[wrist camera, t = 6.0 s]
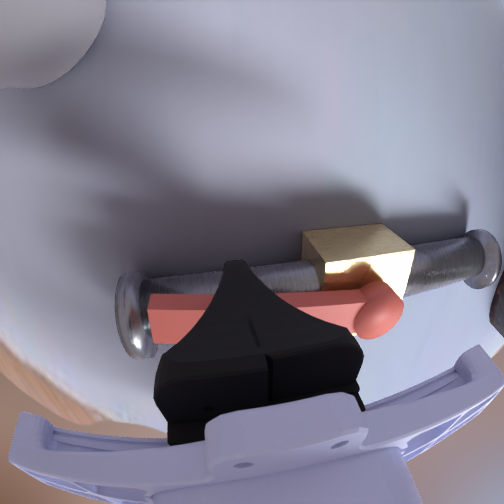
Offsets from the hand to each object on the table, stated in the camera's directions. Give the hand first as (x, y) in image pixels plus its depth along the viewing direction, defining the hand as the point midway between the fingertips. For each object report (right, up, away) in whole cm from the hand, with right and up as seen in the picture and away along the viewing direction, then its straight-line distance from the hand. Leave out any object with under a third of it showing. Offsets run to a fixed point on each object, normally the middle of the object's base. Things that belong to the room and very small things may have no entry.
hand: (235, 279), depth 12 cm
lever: (+2, -2, +2) cm, 4 cm away
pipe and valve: (+7, 0, +7) cm, 10 cm away
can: (-11, +14, -4) cm, 18 cm away
